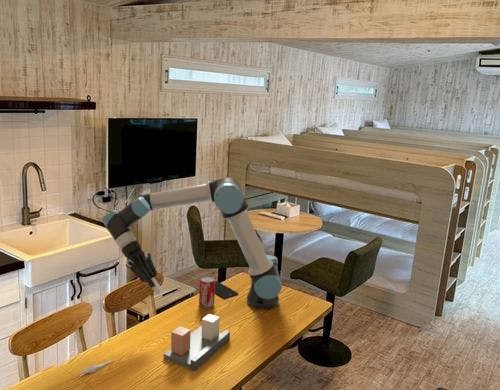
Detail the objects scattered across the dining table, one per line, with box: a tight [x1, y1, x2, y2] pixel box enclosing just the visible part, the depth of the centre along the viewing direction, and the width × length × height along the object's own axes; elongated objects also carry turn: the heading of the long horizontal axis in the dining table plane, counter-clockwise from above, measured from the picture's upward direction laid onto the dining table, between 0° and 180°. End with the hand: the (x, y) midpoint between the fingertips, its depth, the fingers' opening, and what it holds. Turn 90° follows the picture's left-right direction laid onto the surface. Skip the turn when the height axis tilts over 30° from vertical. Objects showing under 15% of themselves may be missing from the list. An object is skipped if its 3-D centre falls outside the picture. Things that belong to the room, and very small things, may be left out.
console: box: [163, 325, 231, 372], centre depth 174 cm, size 14×24×4 cm, turn 152°
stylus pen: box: [77, 359, 115, 376], centre depth 160 cm, size 15×3×2 cm, turn 138°
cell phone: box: [214, 280, 239, 300], centre depth 226 cm, size 9×18×1 cm, turn 41°
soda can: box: [198, 275, 216, 309], centre depth 209 cm, size 7×7×13 cm
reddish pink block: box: [170, 325, 191, 355], centre depth 169 cm, size 5×5×8 cm
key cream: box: [201, 313, 221, 341], centre depth 179 cm, size 5×5×8 cm
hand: (159, 292), depth 184 cm, fingers closed
